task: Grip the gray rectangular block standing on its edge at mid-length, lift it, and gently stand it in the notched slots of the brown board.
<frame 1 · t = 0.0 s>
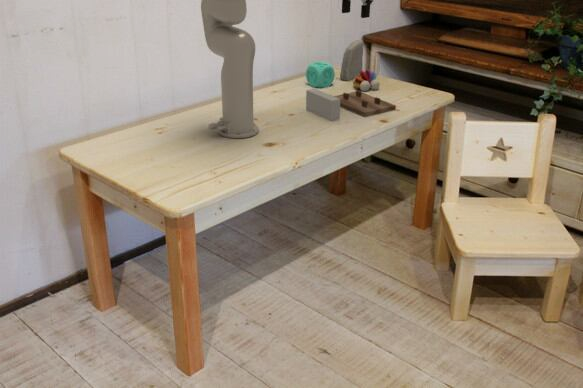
hand: (355, 15, 206), 31 cm above the table, tool pointing down, fingers open, 9 cm apart
decorative dice: (319, 85, 244), on the table
rainbow petal toy: (365, 89, 240), on the table
gray rectangular block: (322, 114, 213), on the table
brown board: (361, 105, 221), on the table
decorative stone: (350, 78, 252), on the table
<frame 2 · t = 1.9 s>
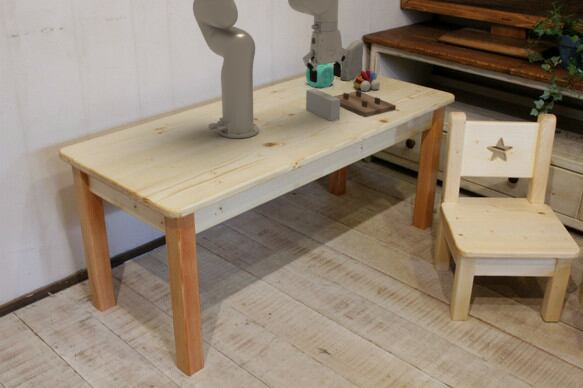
hand: (325, 79, 208), 12 cm above the table, tool pointing down, fingers open, 9 cm apart
nothing on the table moved.
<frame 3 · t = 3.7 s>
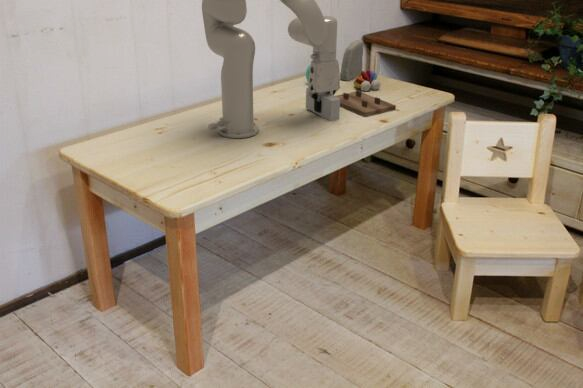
hand: (322, 109, 212), 1 cm above the table, tool pointing down, fingers closed on gray rectangular block, 3 cm apart
gray rectangular block: (321, 113, 213), on the table, touching gripper
everything else where it was.
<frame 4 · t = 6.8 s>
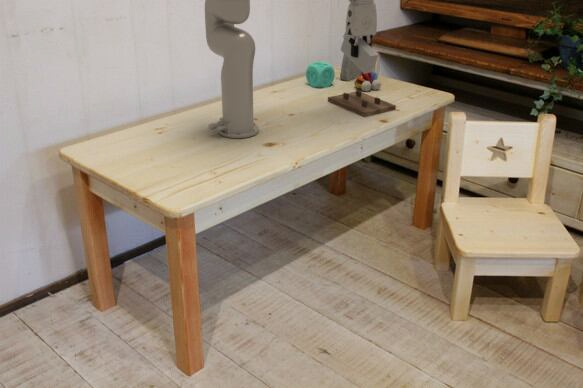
hand: (359, 55, 212), 18 cm above the table, tool pointing down, fingers closed on gray rectangular block, 3 cm apart
gray rectangular block: (356, 60, 214), point 16 cm above the table, tilted 23°, touching gripper
everything else where it was.
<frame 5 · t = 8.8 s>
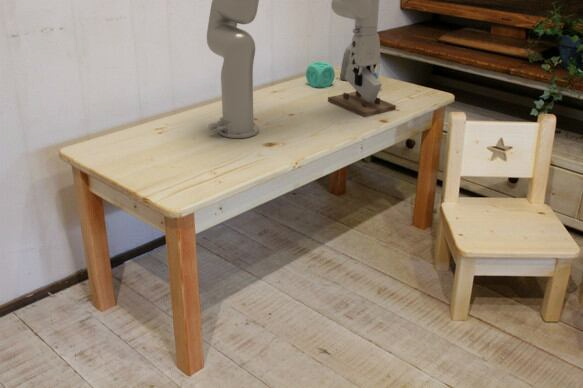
hand: (362, 83, 218), 8 cm above the table, tool pointing down, fingers closed on gray rectangular block, 3 cm apart
gray rectangular block: (359, 88, 220), point 6 cm above the table, tilted 23°, touching gripper
everything else where it was.
when the fingers open (5 cm above the table, at t = 10.3 s): gray rectangular block drops 1 cm, resting on brown board.
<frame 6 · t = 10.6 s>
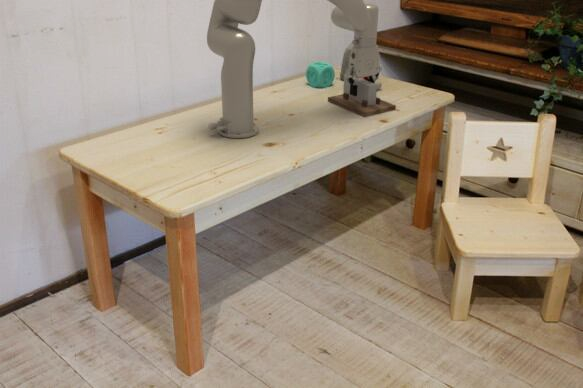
hand: (361, 93, 219), 4 cm above the table, tool pointing down, fingers open, 7 cm apart
gray rectangular block: (359, 99, 222), point 1 cm above the table, touching brown board
everything else where it was.
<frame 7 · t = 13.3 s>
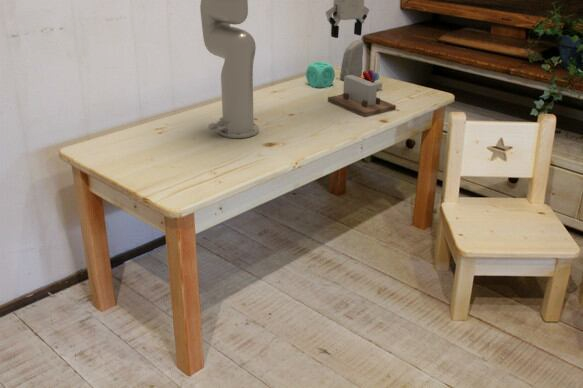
hand: (346, 36, 213), 24 cm above the table, tool pointing down, fingers open, 9 cm apart
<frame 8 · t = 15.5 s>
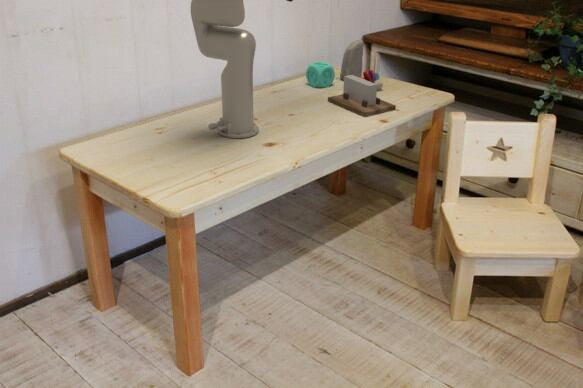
at the end: gray rectangular block 1.9 cm off-centre on the brown board, point 1.5 cm above the brown board's base; gray rectangular block tilted 0°; the gripper is holding nothing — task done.
